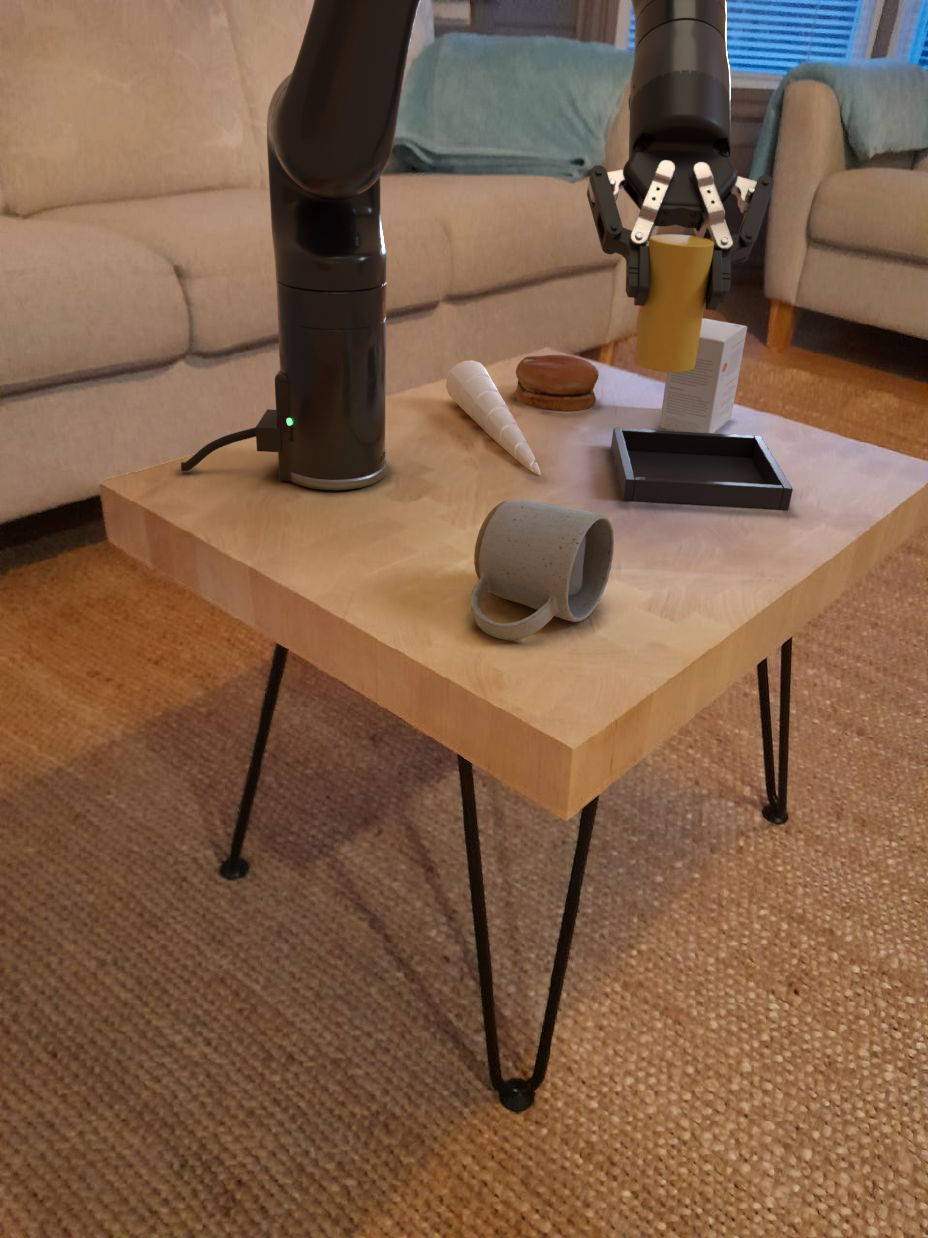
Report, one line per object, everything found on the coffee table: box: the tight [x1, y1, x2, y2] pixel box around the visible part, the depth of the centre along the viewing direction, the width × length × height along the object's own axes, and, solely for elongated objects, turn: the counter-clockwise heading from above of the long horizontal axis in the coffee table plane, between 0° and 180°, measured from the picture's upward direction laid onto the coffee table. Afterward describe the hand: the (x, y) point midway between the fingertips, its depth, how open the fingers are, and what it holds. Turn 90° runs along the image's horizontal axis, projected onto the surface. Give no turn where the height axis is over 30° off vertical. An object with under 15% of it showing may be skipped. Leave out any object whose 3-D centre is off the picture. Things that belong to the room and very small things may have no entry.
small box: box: [659, 317, 748, 434], centre depth 110 cm, size 8×6×10 cm
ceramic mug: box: [470, 499, 615, 641], centre depth 73 cm, size 11×8×8 cm
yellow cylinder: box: [633, 233, 714, 373], centre depth 77 cm, size 5×5×9 cm
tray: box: [610, 427, 794, 511], centre depth 98 cm, size 15×14×2 cm
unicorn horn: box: [445, 359, 542, 476], centre depth 105 cm, size 5×24×5 cm, turn 14°
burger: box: [513, 354, 599, 412], centre depth 117 cm, size 10×9×5 cm
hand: (677, 300), depth 75 cm, fingers closed on yellow cylinder, 4 cm apart
